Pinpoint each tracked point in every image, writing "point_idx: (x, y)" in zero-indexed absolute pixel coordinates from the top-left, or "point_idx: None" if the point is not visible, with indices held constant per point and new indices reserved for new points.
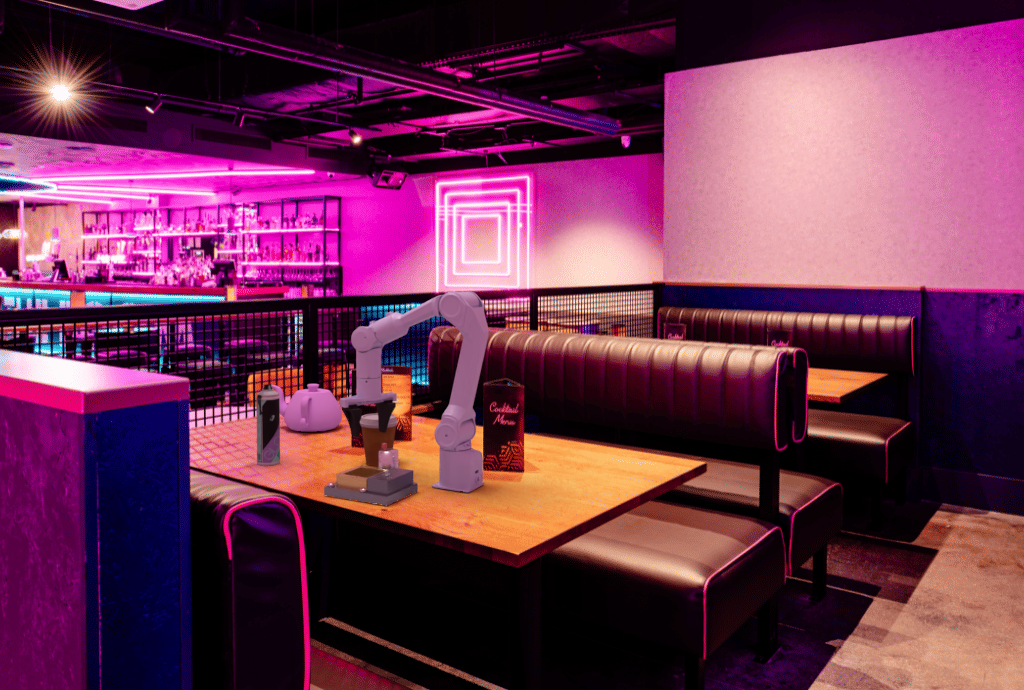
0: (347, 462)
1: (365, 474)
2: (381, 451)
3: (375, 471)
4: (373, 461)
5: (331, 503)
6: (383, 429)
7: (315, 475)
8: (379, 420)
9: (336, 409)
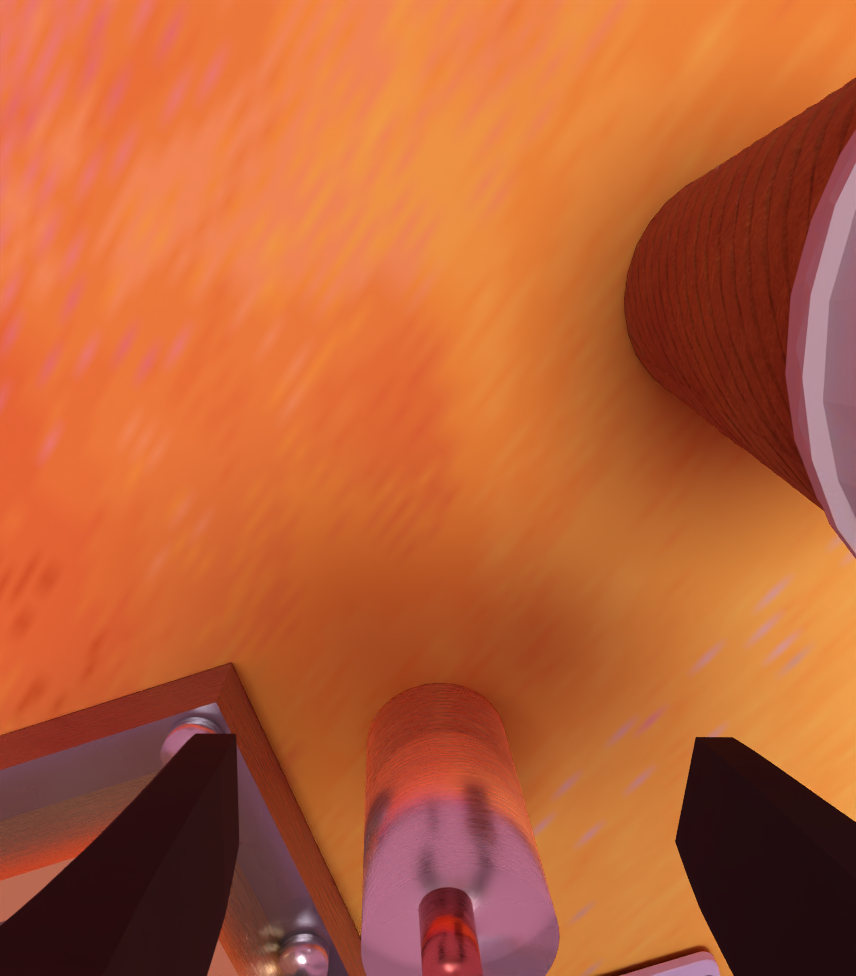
0: (567, 23)
1: None
2: (384, 937)
3: None
4: (646, 355)
5: None
6: (699, 867)
7: (52, 245)
8: (809, 878)
9: None
